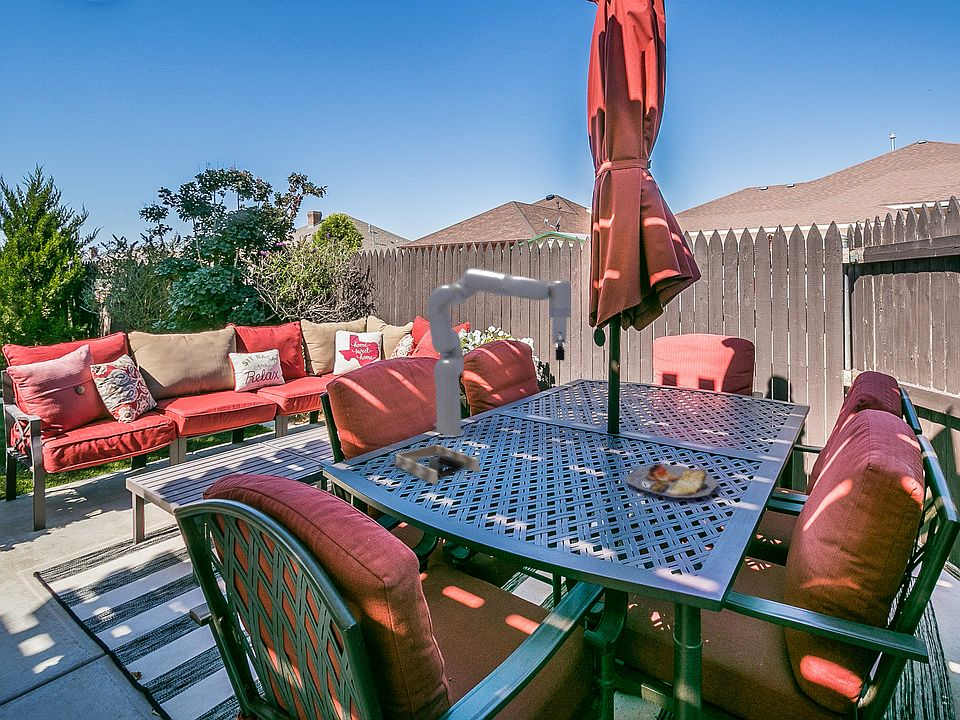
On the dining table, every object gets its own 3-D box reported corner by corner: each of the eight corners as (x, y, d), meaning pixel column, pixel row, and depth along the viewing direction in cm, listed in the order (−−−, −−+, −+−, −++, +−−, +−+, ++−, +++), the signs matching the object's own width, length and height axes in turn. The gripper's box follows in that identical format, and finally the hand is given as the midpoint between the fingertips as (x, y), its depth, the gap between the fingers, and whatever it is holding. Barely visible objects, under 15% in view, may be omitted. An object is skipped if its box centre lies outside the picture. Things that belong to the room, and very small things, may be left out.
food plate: (647, 465, 163) (648, 455, 162) (726, 481, 148) (727, 470, 147) (614, 491, 143) (614, 479, 143) (700, 512, 129) (701, 499, 128)
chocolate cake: (450, 466, 168) (427, 446, 162) (466, 464, 164) (442, 443, 158) (441, 492, 162) (416, 473, 157) (457, 490, 158) (432, 470, 152)
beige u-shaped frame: (394, 466, 167) (394, 454, 167) (437, 455, 178) (436, 444, 178) (435, 484, 150) (434, 471, 149) (479, 471, 161) (478, 459, 160)
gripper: (550, 313, 200) (550, 356, 202) (549, 314, 183) (549, 361, 185) (569, 312, 199) (569, 356, 201) (570, 314, 182) (570, 361, 184)
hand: (560, 358), depth 193 cm, fingers open, 9 cm apart
